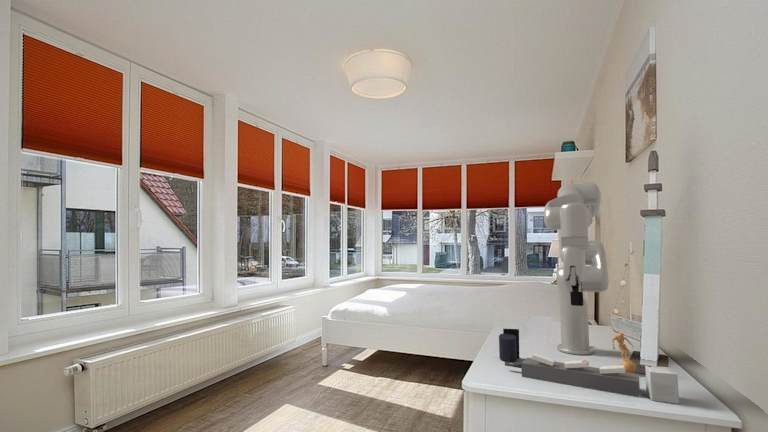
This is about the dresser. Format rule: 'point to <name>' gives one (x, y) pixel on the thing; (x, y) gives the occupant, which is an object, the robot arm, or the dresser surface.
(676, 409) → the dresser surface
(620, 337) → the figurine
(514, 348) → the speaker
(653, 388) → the skincare box
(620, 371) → the block
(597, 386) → the power strip
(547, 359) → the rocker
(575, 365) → the block
